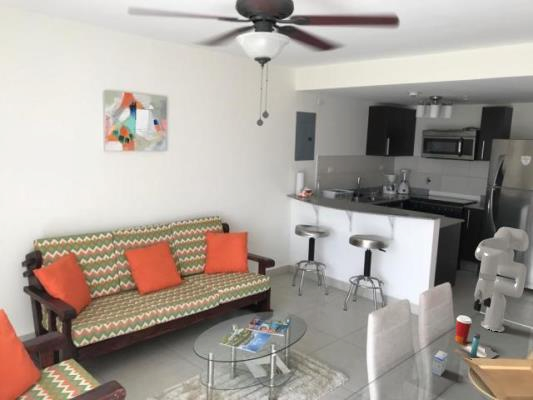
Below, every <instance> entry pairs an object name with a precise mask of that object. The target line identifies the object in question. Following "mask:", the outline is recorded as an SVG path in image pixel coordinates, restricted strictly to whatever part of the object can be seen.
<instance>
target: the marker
mask: <svg viewBox="0 0 533 400" xmlns="http://www.w3.org/2000/svg"><path fill="white" fill-rule="evenodd" d="M480 339H481V334H480V333H477V332H475V333H473V339H472V342H473V343H472V349H471V355H470V356H471V357H474V358H476V356H477V350H478V345H479V344H480Z"/></svg>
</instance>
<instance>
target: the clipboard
mask: <svg viewBox="0 0 533 400" xmlns="http://www.w3.org/2000/svg"><path fill="white" fill-rule="evenodd" d="M472 343H473V341H471V342H469V343H466V344H464V345H462V346H460V347H459V348H456V349H455V350H454V353H456V354H459V355H461V356H463V357H465V358H466V359H469V358H474V357H471V356H470V355H471V349H472ZM485 349H489V350H492V348H491V347H489V346H487V345H484V344H482V343H479V345H478V350H477V356H476V358H480V357H486V356H487V354H486V353H485Z"/></svg>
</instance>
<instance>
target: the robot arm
mask: <svg viewBox="0 0 533 400" xmlns="http://www.w3.org/2000/svg"><path fill="white" fill-rule="evenodd" d="M529 240H530V239H529V235H528V233H527V232H526V231H525V230H523V229H521V228H520V229H519V228H513V227H508V226H502V227H500V228H499V229H498V230H497V232H495V233H494V235H493V237H490V238H486V239H483V240H481V242H479V244H478V246H477V247H476V249H475V252H474V256H475V259H477V260H478V261H481V262H480V269H479V273H478V280H477V282H476V285H475V291H474V296H473V297H474V298H473V299H474V300H473V301H474V304H473V310H474V311H477V312H481V309H482V302H483V306H484V307H486V309H485V315H484V320H482V321H480V325H481V327H482V328H484V329H486V330H488V329H490V330H489V331H491V330H492V331H491V332H494V331H498V332H497V333H502V332H504V331H505V327H504V326H503V323H504V322H505V319H504V318H505V317H504V316H505V312H506V307H507V306H506V305H507V299H506V297H505V296H509V297H512V298H517V299H519V298H521V297H522V295H523V293H524V289H525V282H526V278H527V277H526V276H527V272H528V271H527V266H526V265H525V264H523V263H521V262H516V261H514V259H515V251H518V252H519V251H520V252H525V251H527V250H528V248H529V245H530V241H529ZM514 250H515V251H514ZM497 275H500V276H497ZM504 295H505V296H504Z"/></svg>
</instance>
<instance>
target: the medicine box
mask: <svg viewBox="0 0 533 400" xmlns="http://www.w3.org/2000/svg"><path fill="white" fill-rule="evenodd" d="M448 358H449V353H447V352H444V351H443V350H438V352H437V353H436V354H435V355H434V356H433V361H432V366H431V371H430V372H431V373H432V374H434V375H436V376H438V377H441V376H442V375H443V373H444V372H445V371H446V369H447V363H448Z"/></svg>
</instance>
